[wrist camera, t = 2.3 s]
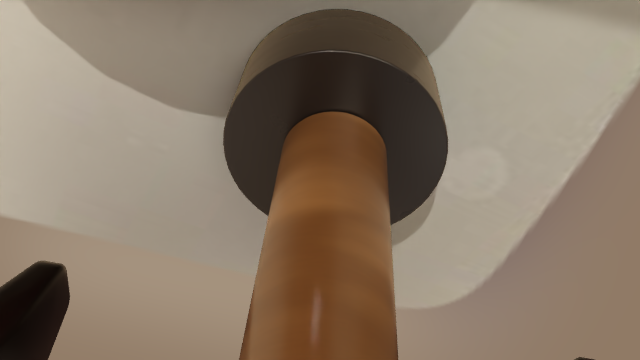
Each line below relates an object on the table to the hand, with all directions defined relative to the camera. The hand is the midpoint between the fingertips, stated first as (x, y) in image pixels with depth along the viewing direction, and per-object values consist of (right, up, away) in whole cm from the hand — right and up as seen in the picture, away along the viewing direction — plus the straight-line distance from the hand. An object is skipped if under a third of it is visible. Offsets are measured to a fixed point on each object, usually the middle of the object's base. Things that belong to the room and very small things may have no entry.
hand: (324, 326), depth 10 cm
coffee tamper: (0, +5, +6) cm, 8 cm away
